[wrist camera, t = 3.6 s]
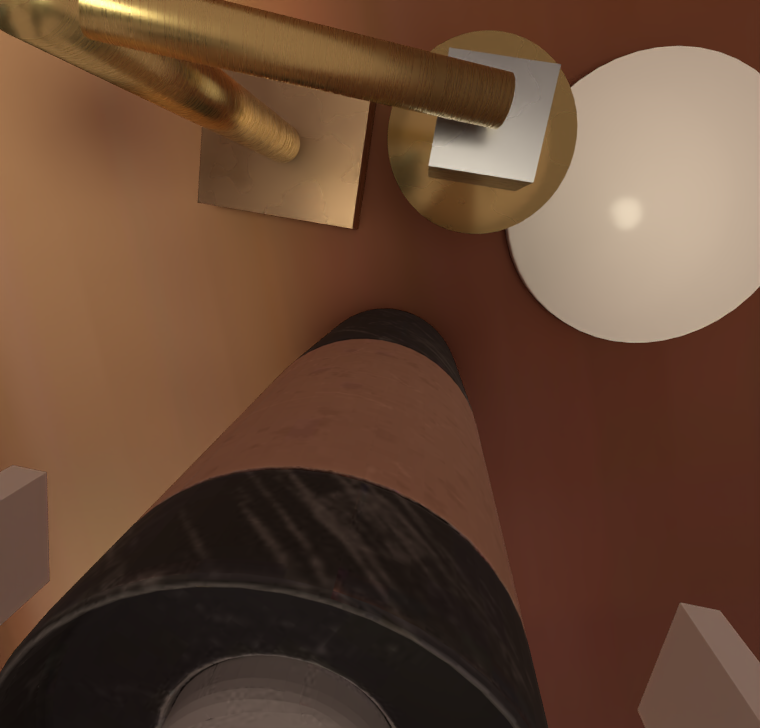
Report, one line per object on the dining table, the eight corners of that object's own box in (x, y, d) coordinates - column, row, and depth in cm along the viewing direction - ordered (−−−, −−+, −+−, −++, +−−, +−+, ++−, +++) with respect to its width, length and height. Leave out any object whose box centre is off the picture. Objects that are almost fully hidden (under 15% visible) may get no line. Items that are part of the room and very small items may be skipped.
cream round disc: (479, 314, 24) (482, 317, 23) (540, 36, 21) (547, 24, 20) (728, 357, 23) (744, 364, 22) (830, 79, 20) (855, 70, 19)
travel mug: (302, 310, 25) (-132, 581, 5) (454, 294, 24) (575, 550, 5) (323, 449, 27) (57, 1016, 7) (466, 439, 26) (586, 1054, 6)
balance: (83, 182, 24) (-806, 51, 7) (83, 44, 22) (-1089, -601, 5) (497, 252, 23) (712, 310, 6) (528, 114, 22) (953, -380, 4)
